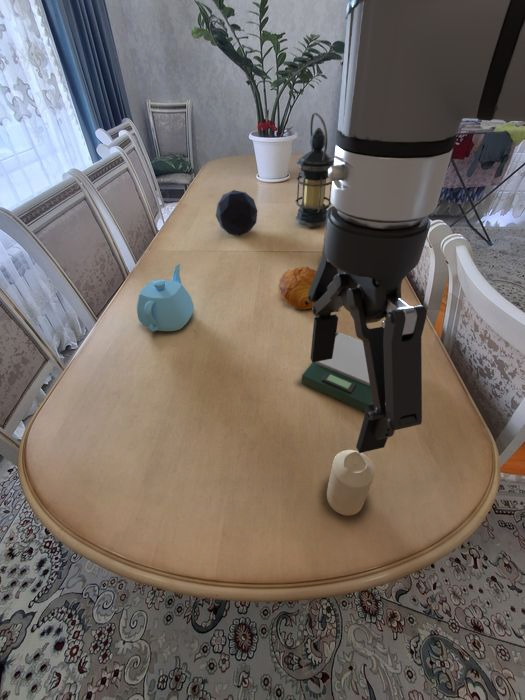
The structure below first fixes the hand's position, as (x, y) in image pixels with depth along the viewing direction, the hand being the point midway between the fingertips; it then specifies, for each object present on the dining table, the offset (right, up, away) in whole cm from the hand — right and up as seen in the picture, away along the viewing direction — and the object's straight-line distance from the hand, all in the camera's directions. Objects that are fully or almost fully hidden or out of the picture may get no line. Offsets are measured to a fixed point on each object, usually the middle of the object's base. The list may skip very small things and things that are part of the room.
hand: (342, 397), depth 40 cm
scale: (+9, +1, +32) cm, 33 cm away
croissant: (+2, +20, +55) cm, 58 cm away
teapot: (-33, +14, +48) cm, 60 cm away
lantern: (+9, +53, +92) cm, 106 cm away
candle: (+3, -17, +13) cm, 21 cm away
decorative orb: (-18, +48, +87) cm, 101 cm away
